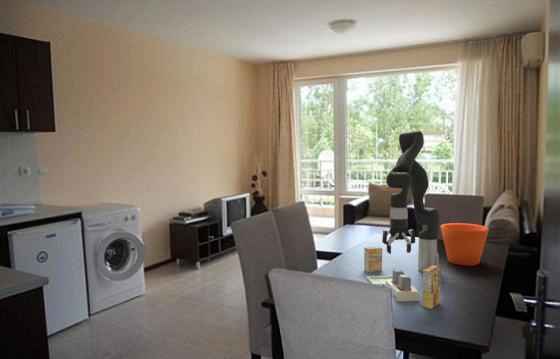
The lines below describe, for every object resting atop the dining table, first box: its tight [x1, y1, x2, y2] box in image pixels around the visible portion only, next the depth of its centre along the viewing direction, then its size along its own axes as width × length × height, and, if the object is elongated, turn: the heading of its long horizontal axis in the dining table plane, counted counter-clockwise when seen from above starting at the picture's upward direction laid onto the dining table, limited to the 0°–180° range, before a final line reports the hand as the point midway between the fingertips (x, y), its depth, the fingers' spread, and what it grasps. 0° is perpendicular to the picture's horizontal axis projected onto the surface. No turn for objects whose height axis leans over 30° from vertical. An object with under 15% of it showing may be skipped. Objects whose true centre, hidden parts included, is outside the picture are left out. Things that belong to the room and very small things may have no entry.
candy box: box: [421, 265, 442, 309], centre depth 168 cm, size 9×4×15 cm, turn 137°
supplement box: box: [363, 246, 383, 273], centre depth 214 cm, size 8×5×13 cm, turn 105°
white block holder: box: [385, 274, 419, 302], centre depth 181 cm, size 16×9×10 cm, turn 3°
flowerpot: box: [439, 222, 490, 266], centre depth 232 cm, size 25×25×20 cm
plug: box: [392, 268, 405, 285], centre depth 185 cm, size 4×4×9 cm
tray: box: [366, 274, 393, 287], centre depth 196 cm, size 14×12×2 cm
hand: (398, 252), depth 184 cm, fingers open, 8 cm apart
